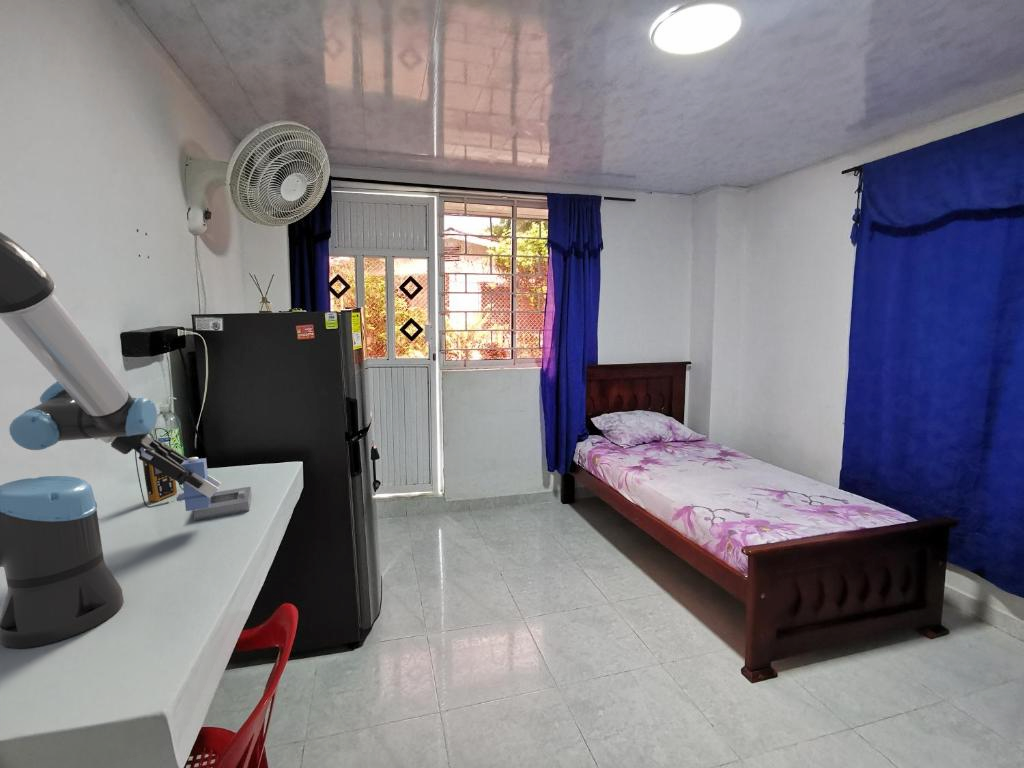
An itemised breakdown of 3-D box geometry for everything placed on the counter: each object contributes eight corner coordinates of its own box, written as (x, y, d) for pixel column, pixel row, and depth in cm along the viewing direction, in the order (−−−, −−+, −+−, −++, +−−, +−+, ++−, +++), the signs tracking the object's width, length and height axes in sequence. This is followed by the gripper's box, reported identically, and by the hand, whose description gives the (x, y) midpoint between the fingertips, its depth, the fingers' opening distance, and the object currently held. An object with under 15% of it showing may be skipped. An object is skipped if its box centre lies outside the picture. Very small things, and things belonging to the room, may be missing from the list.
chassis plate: (249, 510, 128) (247, 498, 128) (194, 520, 123) (193, 507, 123) (251, 495, 141) (250, 483, 140) (202, 503, 136) (200, 491, 135)
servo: (216, 506, 118) (210, 457, 117) (178, 512, 115) (172, 462, 114) (218, 501, 122) (213, 453, 121) (181, 506, 119) (175, 458, 118)
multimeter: (168, 507, 133) (158, 435, 131) (136, 507, 135) (125, 435, 133) (209, 489, 148) (201, 423, 145) (179, 489, 149) (171, 424, 147)
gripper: (120, 438, 118) (208, 493, 127) (96, 451, 102) (198, 514, 111) (145, 413, 120) (230, 469, 128) (125, 423, 104) (223, 486, 113)
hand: (215, 490), depth 120 cm, fingers closed on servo, 4 cm apart
